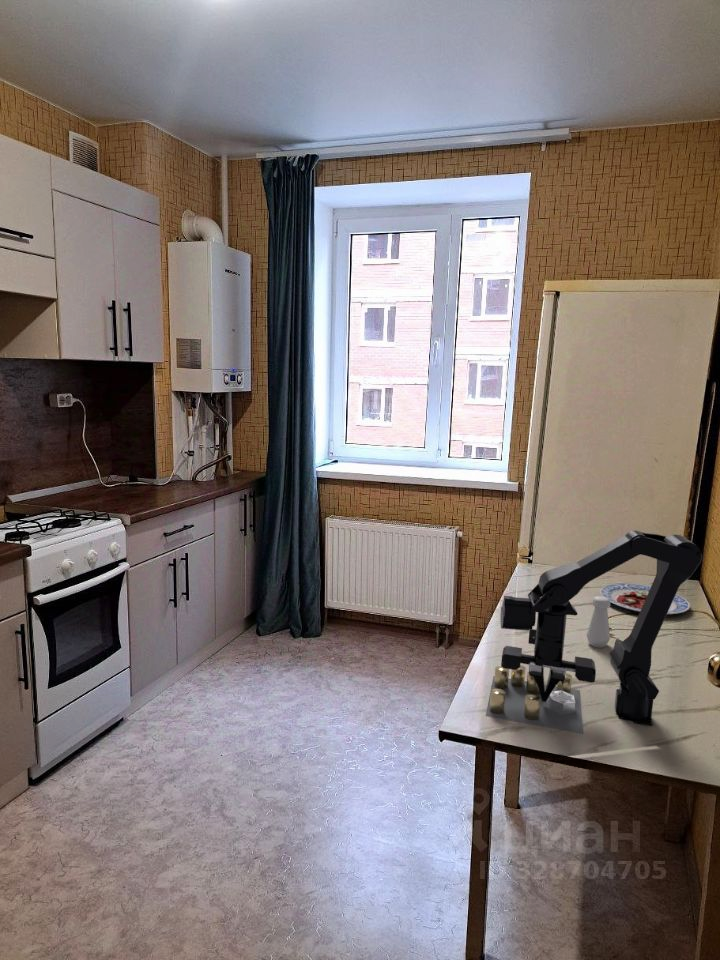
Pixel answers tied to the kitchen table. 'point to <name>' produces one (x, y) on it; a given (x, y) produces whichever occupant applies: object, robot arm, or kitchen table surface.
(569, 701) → the clear faceted crystal
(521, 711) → the mat
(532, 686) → the brass spacers
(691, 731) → the kitchen table surface
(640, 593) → the ceramic plate
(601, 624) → the salt shaker
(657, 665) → the kitchen table surface
